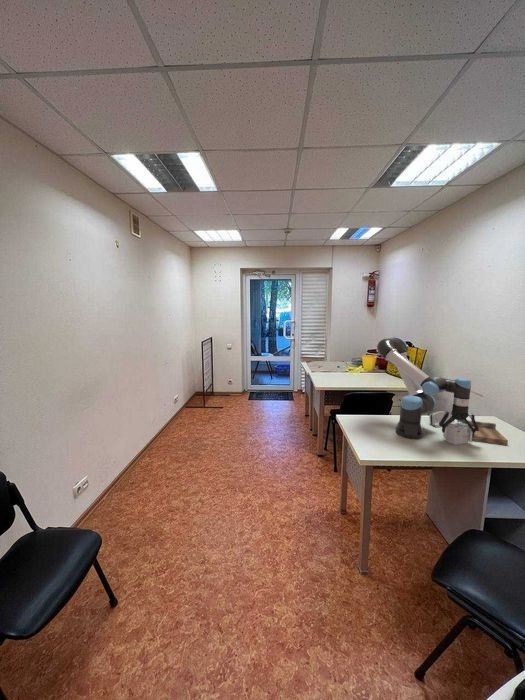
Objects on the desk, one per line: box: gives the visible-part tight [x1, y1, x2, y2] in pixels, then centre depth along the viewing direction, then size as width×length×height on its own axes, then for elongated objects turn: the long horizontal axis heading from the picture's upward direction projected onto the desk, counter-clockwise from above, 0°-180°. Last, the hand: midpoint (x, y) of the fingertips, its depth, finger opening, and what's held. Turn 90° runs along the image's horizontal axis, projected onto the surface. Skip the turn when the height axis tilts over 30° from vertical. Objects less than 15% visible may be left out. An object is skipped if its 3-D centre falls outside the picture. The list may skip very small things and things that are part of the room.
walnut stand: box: [456, 419, 509, 446], centre depth 168 cm, size 20×18×6 cm
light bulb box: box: [445, 421, 470, 446], centre depth 160 cm, size 11×7×11 cm, turn 106°
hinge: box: [429, 410, 456, 428], centre depth 185 cm, size 17×5×10 cm, turn 100°
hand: (456, 439), depth 161 cm, fingers closed on light bulb box, 12 cm apart
